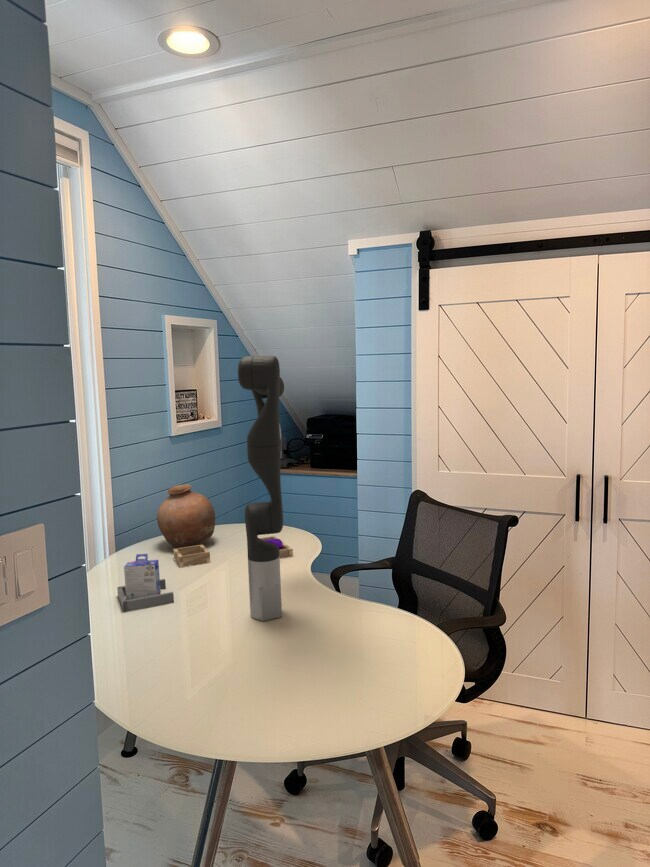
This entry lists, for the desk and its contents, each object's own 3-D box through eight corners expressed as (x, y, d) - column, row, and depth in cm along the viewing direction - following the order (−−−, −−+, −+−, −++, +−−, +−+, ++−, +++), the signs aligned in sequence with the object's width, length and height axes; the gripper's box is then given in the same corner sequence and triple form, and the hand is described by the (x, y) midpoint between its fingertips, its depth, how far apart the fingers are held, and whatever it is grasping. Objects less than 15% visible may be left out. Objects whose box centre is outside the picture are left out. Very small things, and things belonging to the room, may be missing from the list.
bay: (174, 602, 187) (173, 592, 186) (123, 612, 180) (123, 602, 180) (165, 587, 200) (164, 578, 199) (117, 596, 193) (117, 587, 193)
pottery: (224, 538, 255) (220, 480, 252) (203, 555, 232) (200, 492, 229) (173, 537, 259) (170, 480, 256) (148, 554, 236) (144, 491, 233)
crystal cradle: (292, 556, 227) (292, 548, 227) (268, 560, 223) (267, 553, 223) (273, 542, 246) (273, 535, 245) (250, 546, 241) (250, 539, 241)
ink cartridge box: (161, 595, 192) (158, 551, 191) (158, 602, 187) (155, 557, 185) (130, 597, 192) (127, 553, 190) (126, 604, 186) (122, 559, 185)
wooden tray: (210, 562, 223) (209, 552, 223) (180, 567, 219) (179, 557, 218) (202, 554, 234) (202, 544, 233) (173, 559, 229) (173, 549, 228)
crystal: (261, 536, 242) (286, 539, 232) (262, 548, 242) (287, 551, 232) (252, 539, 239) (277, 542, 228) (253, 551, 239) (278, 554, 229)
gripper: (252, 436, 199) (254, 488, 201) (266, 440, 188) (268, 494, 190) (273, 435, 203) (275, 485, 205) (288, 438, 191) (290, 492, 193)
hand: (272, 489), depth 197 cm, fingers closed
